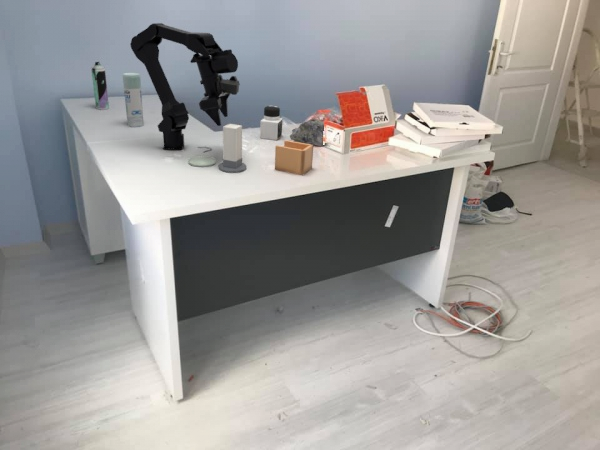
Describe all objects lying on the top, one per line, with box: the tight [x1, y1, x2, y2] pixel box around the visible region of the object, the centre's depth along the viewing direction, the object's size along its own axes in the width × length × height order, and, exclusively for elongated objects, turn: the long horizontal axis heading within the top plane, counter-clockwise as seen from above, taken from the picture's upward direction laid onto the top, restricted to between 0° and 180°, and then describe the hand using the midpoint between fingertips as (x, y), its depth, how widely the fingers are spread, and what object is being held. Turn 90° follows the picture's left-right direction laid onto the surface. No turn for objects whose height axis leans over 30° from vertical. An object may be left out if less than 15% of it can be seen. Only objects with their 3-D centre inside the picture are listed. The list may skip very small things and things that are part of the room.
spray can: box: [91, 61, 110, 111], centre depth 219 cm, size 6×6×20 cm
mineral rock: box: [289, 117, 325, 147], centre depth 190 cm, size 13×11×10 cm
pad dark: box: [217, 161, 247, 174], centre depth 162 cm, size 9×9×1 cm
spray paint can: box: [122, 72, 145, 128], centre depth 197 cm, size 6×6×20 cm
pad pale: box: [187, 155, 217, 168], centre depth 165 cm, size 9×9×1 cm
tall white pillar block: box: [222, 123, 243, 169], centre depth 159 cm, size 5×5×13 cm
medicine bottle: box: [259, 105, 283, 141], centre depth 194 cm, size 7×7×12 cm
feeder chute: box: [274, 139, 314, 176], centre depth 163 cm, size 10×8×8 cm
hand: (222, 121), depth 167 cm, fingers open, 9 cm apart
